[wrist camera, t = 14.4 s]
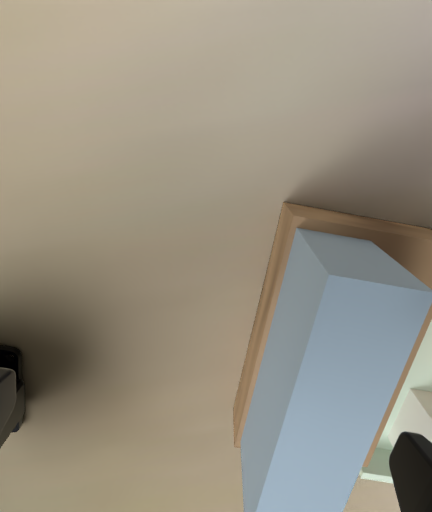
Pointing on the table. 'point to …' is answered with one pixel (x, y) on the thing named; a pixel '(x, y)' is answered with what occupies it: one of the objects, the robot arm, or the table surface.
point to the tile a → (414, 416)
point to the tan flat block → (292, 216)
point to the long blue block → (327, 372)
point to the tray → (420, 378)
